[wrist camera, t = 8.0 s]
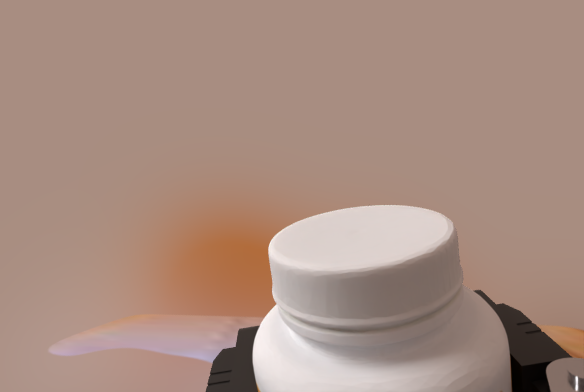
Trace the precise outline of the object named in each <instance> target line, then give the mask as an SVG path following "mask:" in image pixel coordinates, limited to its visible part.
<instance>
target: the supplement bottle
mask: <svg viewBox="0 0 584 392" xmlns="http://www.w3.org/2000/svg"><path fill="white" fill-rule="evenodd" d="M269 260H270V267H271V273H272V281H273V287H272V294H273V297H274V300H275V302H276V303H277V305H275V306H274V307H273V309H272V310H271V311H270V312H269V313H268V314H267V315H266V317H265V318H264V320H263V321H262V323H261V325H260V327H259V329H258V331H257V334H256V336H255V340H254V345H253V367H254V373H255V379H256V384H257V389H258V392H512V378H511V361H510V351H509V344H508V338H507V334H506V331H505V329H504V326H503V324H502V322H501V320H500V318H499V317H498V315H497V314H496V312H495V311H494V310H493V309H492V308H491V306H490V305H489V304H488V303H487V302H486V301H485V300H484V299H483V298H482V297H481V296H479V295H478V294H477V293H475V292H474V291H472V290H471V289H470V288H468V287H466V286H464V285H462V283H463V271H462V267H461V265H460V259H459V249H458V236H457V231H456V228H455V226H454V224H453V222H452V221H451V220H450V219H448V218H447V217H446V216H444V215H443V214H440V213H438V212H435V211H432V210H428V209H424V208H418V207H412V206H398V205H376V206H375V205H374V206H363V207H354V208H346V209H341V210H336V211H331V212H327V213H322V214H319V215H315V216H312V217H309V218H307V219H303V220H301V221H298V222H296V223H294V224H292V225H290V226H288V227H286V228H284V229H283V230H282V231H280V232H279V233H278V234H276V235H275V237H274V238H273V239H272V240H271V242H270V245H269Z"/></svg>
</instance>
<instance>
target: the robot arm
mask: <svg viewBox="0 0 584 392" xmlns="http://www.w3.org/2000/svg"><path fill="white" fill-rule="evenodd" d="M474 292H475V293H477V294H478V295H479V296H481V297H482V298H483V299H484V300H485V301H486V302H487V303H488V304H489V305H490V306H491V308H492V309H493V310H494V311H495V312H496V314H497V315H498V317H499V318H500V320H501V322H502V324H503V326H504V329H505V331H506V334H507V338H508V344H509V351H510V361H511V378H512V392H584V359H582V358H573V357H571V356H570V355H569V354H568V353H567V352H566V351H565V350H563V349H562V348H561V347H560V346H559V345H558V344H557V343H556V342H554V341H553V340H552V339H551V338H550V337H549V336H548V335H547V334H545V333H544V332H542V331H541V329H540V328H539V327H538V326H536V325H535V324H534V323H532V321H531V320H530V319H528V318H527V317H526V316H525V315H524V314H523V313H522V312H521V311H519V310H516V309H514V308H512V307H510V306H508V305H505V304H497V305H496V304H495V303H494V302H493V301H492V300H491V299H490V298H489V297H488V296H487V295H485V294H484V293H483V292H482V291H481V290H475V291H474ZM259 327H260V326H255V327H248V328H242V329H239V331H238V336H237V342H236V347H233V348H227V349H223V350H222V351H221V352H220V353H219V355H218V356H217V357H216V358H215V360H214V361H213V364H212V368H211V372H210V377H209V380H208V386H207V389H206V392H258V389H257V384H256V379H255V373H254V367H253V345H254V340H255V336H256V334H257V331H258V329H259Z"/></svg>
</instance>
